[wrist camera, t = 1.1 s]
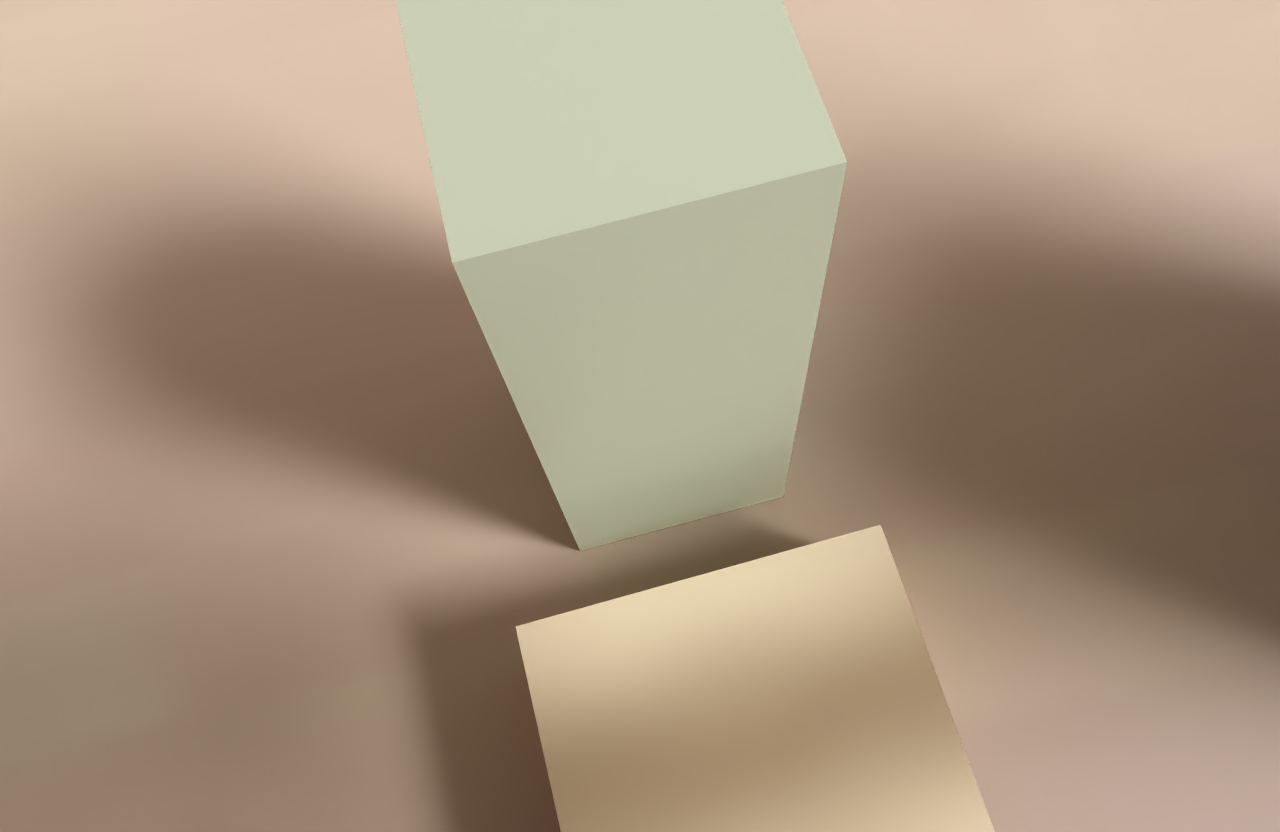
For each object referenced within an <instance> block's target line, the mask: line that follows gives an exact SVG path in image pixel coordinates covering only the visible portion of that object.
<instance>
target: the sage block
mask: <svg viewBox="0 0 1280 832" xmlns="http://www.w3.org/2000/svg"><path fill="white" fill-rule="evenodd" d="M395 2H396V6H397V11H398V15H399V20H400V25H401V29H402V34H403V39H404V43H405V48H406V52H407V57H408V62H409V66H410V71H411V76H412V80H413V85H414V89H415V94H416V99H417V103H418V108H419V113H420V117H421V122H422V126H423V131H424V136H425V140H426V145H427V150H428V154H429V159H430V163H431V168H432V173H433V177H434V182H435V187H436V191H437V196H438V201H439V205H440V210H441V214H442V219H443V224H444V228H445V233H446V238H447V242H448V247H449V251H450V256H451V261H452V264H453V266H454V269H455V271H456V273H457V275H458V278H459V280H460V282H461V284H462V287H463V289H464V291H465V293H466V296H467V298H468V300H469V302H470V305H471V307H472V309H473V311H474V314H475V316H476V318H477V320H478V323H479V325H480V327H481V329H482V332H483V334H484V336H485V338H486V341H487V343H488V345H489V347H490V350H491V352H492V354H493V356H494V359H495V361H496V363H497V365H498V368H499V370H500V372H501V374H502V377H503V379H504V381H505V383H506V386H507V388H508V390H509V392H510V395H511V397H512V399H513V401H514V404H515V406H516V408H517V410H518V413H519V415H520V417H521V419H522V422H523V424H524V426H525V428H526V431H527V433H528V435H529V437H530V440H531V442H532V444H533V446H534V449H535V451H536V453H537V455H538V457H539V460H540V462H541V464H542V466H543V469H544V471H545V473H546V475H547V478H548V480H549V482H550V484H551V487H552V489H553V491H554V493H555V496H556V498H557V500H558V502H559V505H560V507H561V509H562V511H563V514H564V516H565V518H566V520H567V523H568V525H569V527H570V529H571V532H572V534H573V536H574V538H575V541H576V543H577V545H578V547H579V550H580V551H582V550H586V549H590V548H593V547H597V546H601V545H605V544H608V543H612V542H616V541H620V540H623V539H627V538H631V537H635V536H638V535H642V534H646V533H650V532H653V531H657V530H661V529H665V528H668V527H672V526H676V525H680V524H683V523H687V522H691V521H695V520H698V519H702V518H706V517H710V516H713V515H717V514H721V513H725V512H728V511H732V510H736V509H740V508H743V507H747V506H751V505H755V504H758V503H762V502H766V501H770V500H773V499H777V498H781V497H783V495H784V490H785V485H786V480H787V475H788V469H789V464H790V459H791V454H792V449H793V443H794V438H795V433H796V428H797V422H798V417H799V412H800V407H801V402H802V396H803V391H804V386H805V381H806V376H807V370H808V365H809V360H810V355H811V349H812V344H813V339H814V334H815V329H816V323H817V318H818V313H819V308H820V302H821V297H822V292H823V287H824V282H825V276H826V271H827V266H828V261H829V256H830V250H831V245H832V240H833V235H834V229H835V224H836V219H837V214H838V209H839V203H840V198H841V193H842V188H843V183H844V177H845V172H846V167H847V160H846V157H845V155H844V152H843V150H842V147H841V145H840V142H839V140H838V137H837V135H836V132H835V130H834V127H833V125H832V122H831V120H830V117H829V115H828V112H827V110H826V108H825V105H824V103H823V100H822V98H821V95H820V93H819V90H818V88H817V85H816V83H815V80H814V78H813V75H812V73H811V70H810V68H809V65H808V63H807V60H806V58H805V56H804V53H803V51H802V48H801V46H800V43H799V41H798V38H797V36H796V33H795V31H794V28H793V26H792V23H791V21H790V18H789V16H788V13H787V11H786V8H785V6H784V3H783V1H782V0H395Z"/></svg>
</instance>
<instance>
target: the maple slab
mask: <svg viewBox="0 0 1280 832" xmlns="http://www.w3.org/2000/svg"><path fill="white" fill-rule="evenodd" d="M515 627H516V631H517V636H518V640H519V645H520V649H521V654H522V658H523V663H524V668H525V672H526V677H527V681H528V686H529V690H530V695H531V699H532V704H533V708H534V713H535V717H536V722H537V726H538V731H539V735H540V740H541V744H542V749H543V753H544V758H545V763H546V767H547V772H548V776H549V781H550V785H551V790H552V794H553V799H554V803H555V808H556V812H557V817H558V821H559V826H560V830H561V832H995V831H994V828H993V825H992V823H991V820H990V817H989V815H988V812H987V809H986V806H985V804H984V801H983V798H982V796H981V793H980V790H979V788H978V785H977V782H976V780H975V777H974V774H973V771H972V769H971V766H970V763H969V761H968V758H967V755H966V753H965V750H964V747H963V745H962V742H961V739H960V737H959V734H958V731H957V728H956V726H955V723H954V720H953V718H952V715H951V712H950V710H949V707H948V704H947V702H946V699H945V696H944V694H943V691H942V688H941V685H940V683H939V680H938V677H937V675H936V672H935V669H934V667H933V664H932V661H931V659H930V656H929V653H928V651H927V648H926V645H925V642H924V640H923V637H922V634H921V632H920V629H919V626H918V624H917V621H916V618H915V616H914V613H913V610H912V608H911V605H910V602H909V599H908V597H907V594H906V591H905V589H904V586H903V583H902V581H901V578H900V575H899V573H898V570H897V567H896V565H895V562H894V559H893V556H892V554H891V551H890V548H889V546H888V543H887V540H886V538H885V535H884V532H883V530H882V527H881V525H877V526H874V527H870V528H867V529H863V530H859V531H856V532H852V533H849V534H845V535H842V536H838V537H834V538H831V539H827V540H824V541H820V542H816V543H813V544H809V545H806V546H802V547H799V548H795V549H791V550H788V551H784V552H781V553H777V554H773V555H770V556H766V557H763V558H759V559H756V560H752V561H748V562H745V563H741V564H738V565H734V566H730V567H727V568H723V569H720V570H716V571H713V572H709V573H705V574H702V575H698V576H695V577H691V578H687V579H684V580H680V581H677V582H673V583H670V584H666V585H662V586H659V587H655V588H652V589H648V590H644V591H641V592H637V593H634V594H630V595H627V596H623V597H619V598H616V599H612V600H609V601H605V602H601V603H598V604H594V605H591V606H587V607H584V608H580V609H576V610H573V611H569V612H566V613H562V614H558V615H555V616H551V617H548V618H544V619H541V620H537V621H533V622H530V623H526V624H523V625H519V626H515Z"/></svg>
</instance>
